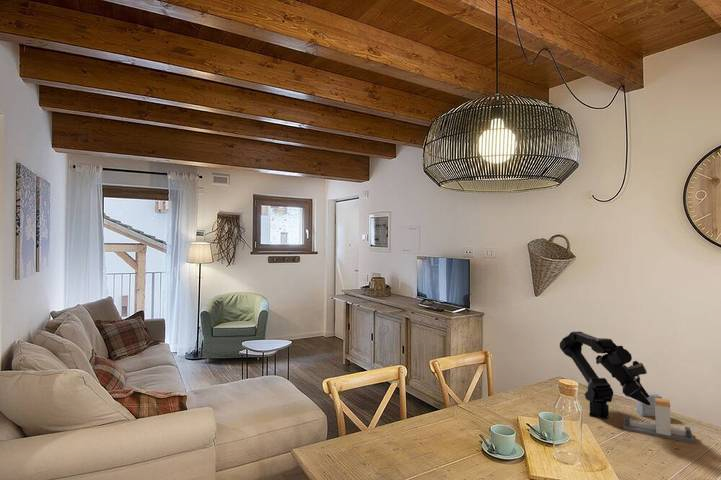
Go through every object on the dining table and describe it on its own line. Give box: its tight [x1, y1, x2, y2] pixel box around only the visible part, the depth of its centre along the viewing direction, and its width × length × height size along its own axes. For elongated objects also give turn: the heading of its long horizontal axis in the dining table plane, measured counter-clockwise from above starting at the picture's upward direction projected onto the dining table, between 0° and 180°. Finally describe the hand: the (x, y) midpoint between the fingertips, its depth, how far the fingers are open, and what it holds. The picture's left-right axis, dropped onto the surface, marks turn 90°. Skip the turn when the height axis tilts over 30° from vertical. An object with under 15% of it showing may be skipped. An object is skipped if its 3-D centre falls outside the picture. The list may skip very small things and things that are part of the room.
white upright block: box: [654, 398, 672, 436], centre depth 159 cm, size 4×8×12 cm, turn 146°
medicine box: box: [636, 392, 663, 417], centre depth 176 cm, size 8×4×9 cm, turn 84°
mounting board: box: [622, 415, 695, 444], centre depth 160 cm, size 22×8×3 cm, turn 56°
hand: (649, 400), depth 161 cm, fingers open, 9 cm apart
